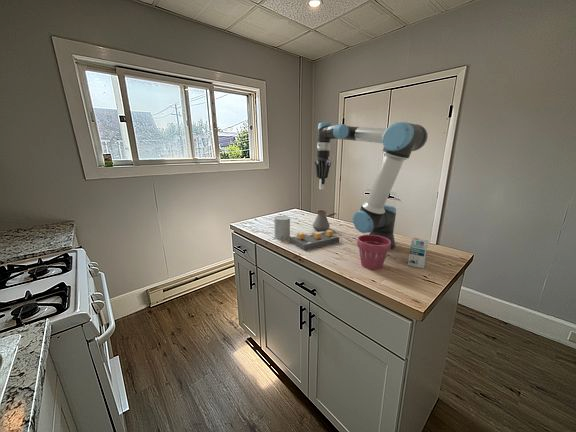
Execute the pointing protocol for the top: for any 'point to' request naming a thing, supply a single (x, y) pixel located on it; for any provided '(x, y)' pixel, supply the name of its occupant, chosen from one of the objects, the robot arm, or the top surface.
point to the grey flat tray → (313, 241)
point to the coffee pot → (321, 221)
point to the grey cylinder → (282, 227)
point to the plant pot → (373, 250)
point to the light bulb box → (418, 252)
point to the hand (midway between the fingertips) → (321, 189)
